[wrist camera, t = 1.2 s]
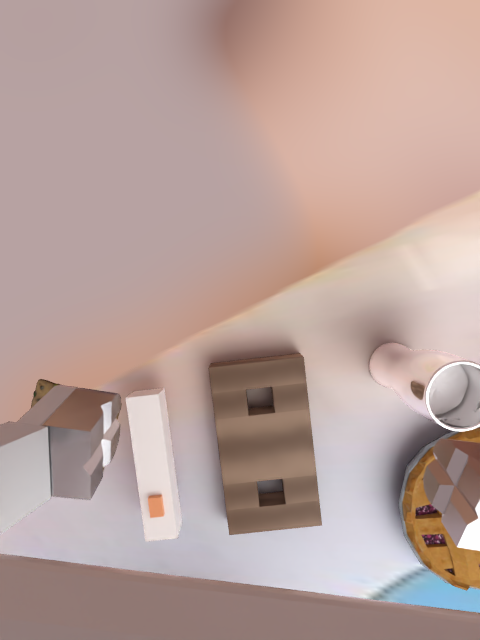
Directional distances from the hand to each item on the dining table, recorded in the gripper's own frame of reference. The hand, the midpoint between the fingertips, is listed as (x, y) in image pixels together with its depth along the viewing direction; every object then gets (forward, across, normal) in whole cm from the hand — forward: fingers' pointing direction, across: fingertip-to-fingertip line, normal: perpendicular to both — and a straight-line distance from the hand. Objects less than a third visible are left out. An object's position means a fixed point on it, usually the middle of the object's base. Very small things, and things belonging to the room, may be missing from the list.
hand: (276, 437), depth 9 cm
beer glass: (+35, +20, -12) cm, 42 cm away
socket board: (+32, +5, -24) cm, 40 cm away
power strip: (+31, -8, -28) cm, 43 cm away
